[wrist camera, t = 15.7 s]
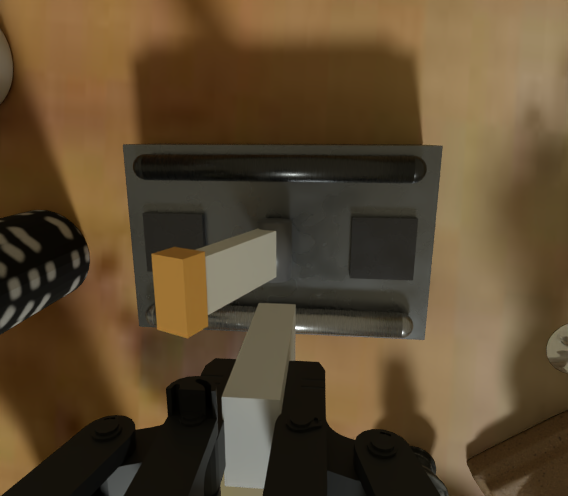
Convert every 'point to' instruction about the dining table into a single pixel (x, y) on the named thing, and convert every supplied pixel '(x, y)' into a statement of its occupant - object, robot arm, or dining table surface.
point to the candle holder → (526, 462)
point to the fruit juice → (5, 67)
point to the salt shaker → (430, 469)
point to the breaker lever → (218, 274)
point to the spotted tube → (38, 263)
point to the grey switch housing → (297, 227)
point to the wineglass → (559, 349)
